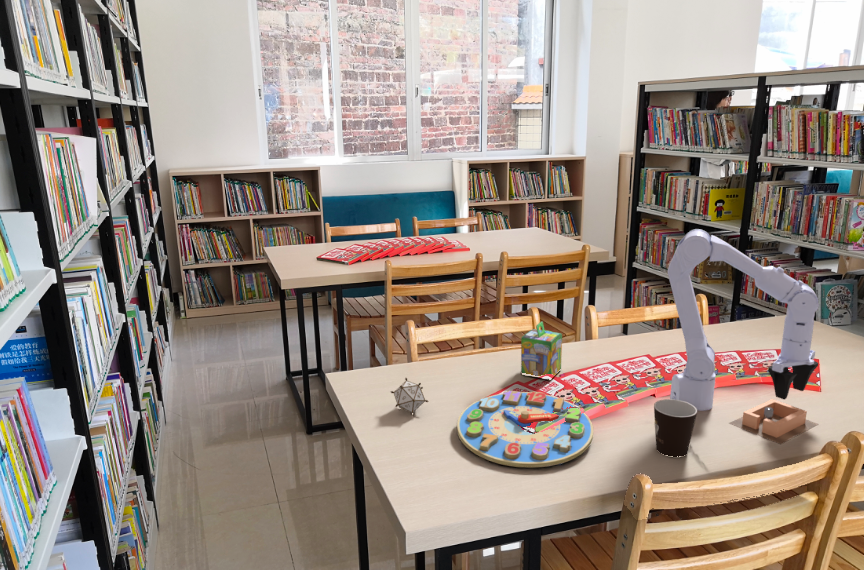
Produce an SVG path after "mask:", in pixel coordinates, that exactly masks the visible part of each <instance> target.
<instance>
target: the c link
mask: <svg viewBox="0 0 864 570" xmlns="http://www.w3.org/2000/svg"><path fill="white" fill-rule="evenodd" d="M765 407H770V408H773V409H774V411H773V414H775V415H778V416H781V417H783V419H781V420H779V421H777V422H775V421H772V420H769V419H767V418H766V419H764V420H763V428H762V432H763V433H766V434H768V435H771V436H773V437H776V438H777V437H779V436H781V435H783V434H785V433H787V432H789V431H791V430H793V429H795V428H797V427H799V426H801V425H803V424H805V421H806V420H807V412H808V410H805V409H801V408H799V407H796V406H793V405H790V404H788V403H785V402H782V401H779V400H777V399H773V398H771V399H769V400H767V401H765V402H763V403H760V404H758V405H755V406H753V407H752V408H749V409H748V410H747V409H746V410H745V411H743V415H742V417H743V421H742V424H743V425H746V426H748V427H751V428H753V429H758V428H759V424H760V420H761V419H763V418H764V410H765Z"/></svg>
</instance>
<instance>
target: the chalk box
mask: <svg viewBox="0 0 864 570" xmlns="http://www.w3.org/2000/svg"><path fill="white" fill-rule="evenodd" d="M535 327H536V329H535V328H533V329H530V330H529V331H528V332H527V333H525V334H524V335H522V336H521V337H520V341H521V342H520V343H521V345H520V346H521V347H520V349H521V353H520V355H521V357H520V358H521V359H520V360H521V361H520V368H521V369H520V373H521V372H522V373H526V374H531V375H535V376H541V375H545V374H553V375H556V374H557V372H558V371H559V370H560V369H561V370H562V357H563V356H562V353H563V352H562V351H563V333H560V332H554V331H551V330H545V327H544V321H540V322H538V323H537V324H536V325H535ZM540 328H541V329H540ZM557 375H558V374H557ZM557 375H556V376H557Z"/></svg>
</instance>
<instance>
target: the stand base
mask: <svg viewBox="0 0 864 570" xmlns="http://www.w3.org/2000/svg"><path fill="white" fill-rule="evenodd" d="M781 419H783V417H781V416H778V415H775V414H773V419H772V421H775V422H777V421H779V420H781ZM742 421H743V416H741V417H739V418H736V419H734V420H733V421H730V422H729V424H730V425H733V427H737V428H740V429H742V430H744V431H747V432H750V433H751V434H755V435H756V436H759V437H762V438H764V439H767V440H769V441H771V442H773V443H776V444H779V445H782V444H784V443H786V442H788V441H789V440H792V439H793V438H795V437H797V436H799V435H801V434H804V433H805V432H807V431H809V430H811V429H812V428H814V427H816V426H819V423H816V422H814V421H811V420H809V419H806V421H805V424H803V425H801V426H799V427H797V428H795V429H793V430H791V431H789V432H787V433H785V434H783V435H781V436H779V437H777V438H776V437H773V436H771V435H768V434H766V433H763V432H762V428H763V419H761V420H760V424H759V428H758V429H753V428H751V427H748V426H746V425H743V424H742Z"/></svg>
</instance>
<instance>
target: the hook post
mask: <svg viewBox="0 0 864 570" xmlns="http://www.w3.org/2000/svg"><path fill="white" fill-rule="evenodd" d="M773 411H774V409H773V408H770V407H765V410H764V418H763V420H764V419H766V418H767V419H769V420H772V419H773Z"/></svg>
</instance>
